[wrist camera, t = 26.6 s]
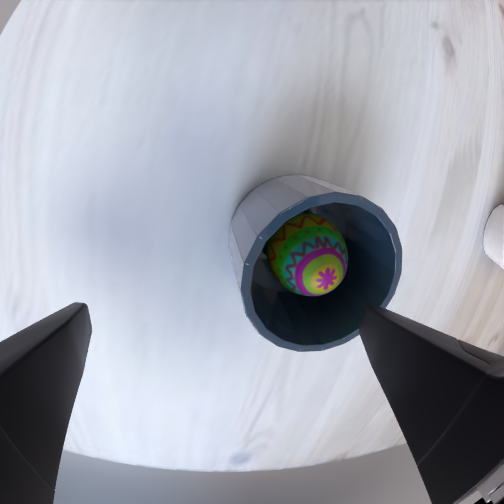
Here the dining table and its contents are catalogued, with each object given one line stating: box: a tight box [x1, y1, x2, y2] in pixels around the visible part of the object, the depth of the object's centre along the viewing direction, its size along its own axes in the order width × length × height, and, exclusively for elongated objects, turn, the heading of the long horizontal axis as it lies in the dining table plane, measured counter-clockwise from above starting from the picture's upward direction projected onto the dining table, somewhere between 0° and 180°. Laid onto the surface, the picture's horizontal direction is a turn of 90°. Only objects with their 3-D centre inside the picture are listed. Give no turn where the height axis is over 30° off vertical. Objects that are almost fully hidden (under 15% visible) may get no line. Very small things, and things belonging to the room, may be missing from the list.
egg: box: [266, 213, 348, 296], centre depth 18 cm, size 5×5×6 cm
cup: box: [229, 175, 402, 352], centre depth 18 cm, size 9×9×7 cm
